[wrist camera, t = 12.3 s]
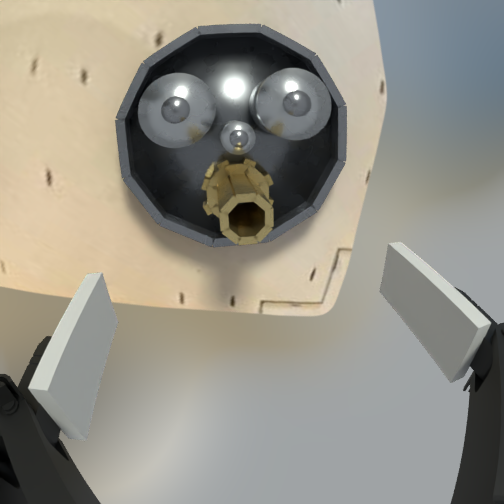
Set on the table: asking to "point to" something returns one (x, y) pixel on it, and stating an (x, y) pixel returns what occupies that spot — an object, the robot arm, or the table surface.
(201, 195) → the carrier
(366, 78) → the table surface
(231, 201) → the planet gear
